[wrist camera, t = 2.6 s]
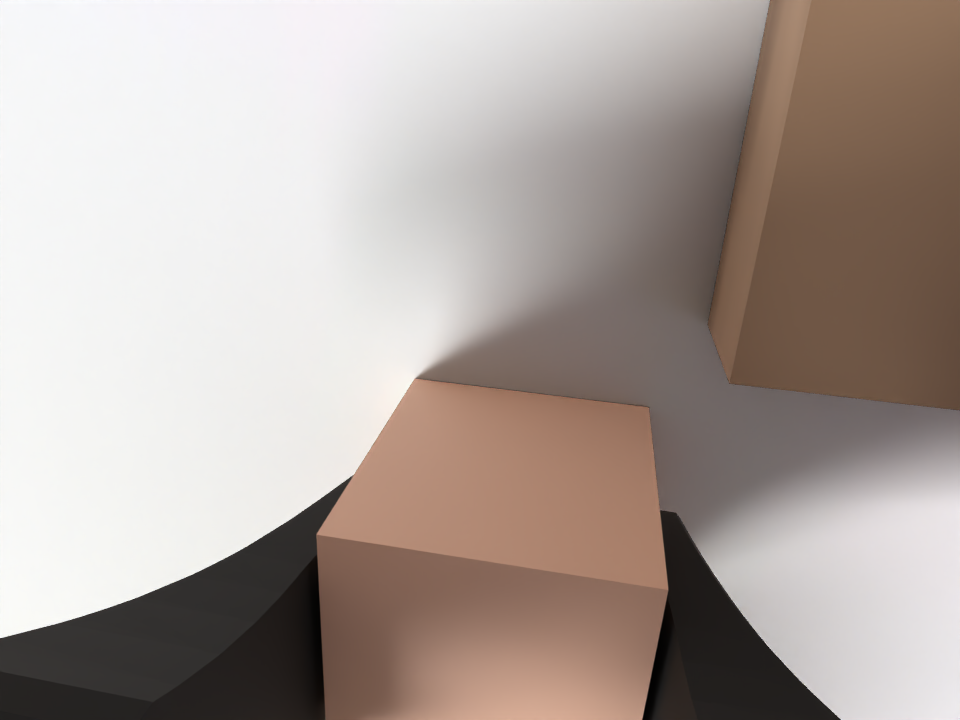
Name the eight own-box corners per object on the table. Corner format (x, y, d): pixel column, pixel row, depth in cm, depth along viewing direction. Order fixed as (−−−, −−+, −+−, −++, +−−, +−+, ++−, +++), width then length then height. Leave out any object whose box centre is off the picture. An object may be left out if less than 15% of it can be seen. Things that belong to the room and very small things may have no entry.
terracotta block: (648, 407, 13) (668, 589, 8) (617, 596, 15) (620, 830, 10) (414, 378, 14) (316, 533, 9) (411, 563, 15) (328, 769, 11)
